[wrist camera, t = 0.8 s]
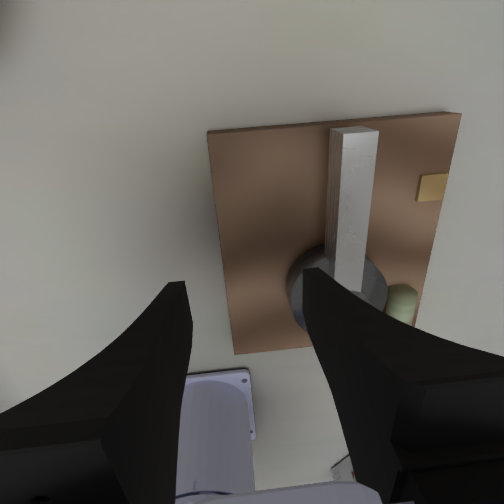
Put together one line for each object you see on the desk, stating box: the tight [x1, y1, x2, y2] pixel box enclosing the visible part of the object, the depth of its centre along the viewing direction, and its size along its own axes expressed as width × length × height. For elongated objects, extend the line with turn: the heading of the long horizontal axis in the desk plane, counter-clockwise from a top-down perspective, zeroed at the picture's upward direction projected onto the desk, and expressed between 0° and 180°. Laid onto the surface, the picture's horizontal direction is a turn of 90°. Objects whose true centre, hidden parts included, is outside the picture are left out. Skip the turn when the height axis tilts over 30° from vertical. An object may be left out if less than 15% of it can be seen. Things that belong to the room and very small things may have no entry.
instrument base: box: [207, 112, 462, 355], centre depth 21 cm, size 16×14×3 cm
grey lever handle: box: [286, 126, 388, 333], centre depth 19 cm, size 13×6×3 cm, turn 4°
